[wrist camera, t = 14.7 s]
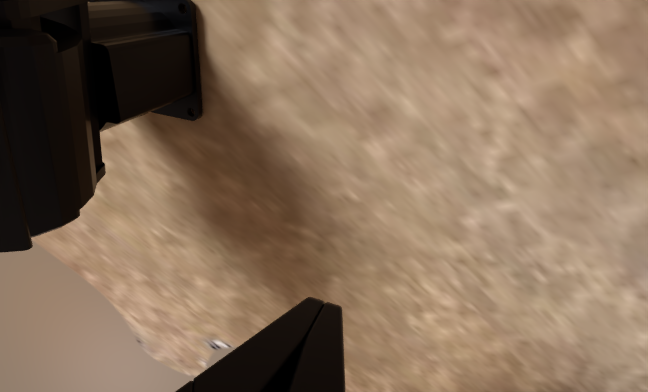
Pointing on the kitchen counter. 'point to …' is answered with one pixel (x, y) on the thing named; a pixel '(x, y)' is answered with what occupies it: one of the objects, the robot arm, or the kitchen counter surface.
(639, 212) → the kitchen counter surface
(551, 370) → the kitchen counter surface
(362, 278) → the kitchen counter surface
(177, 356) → the kitchen counter surface
